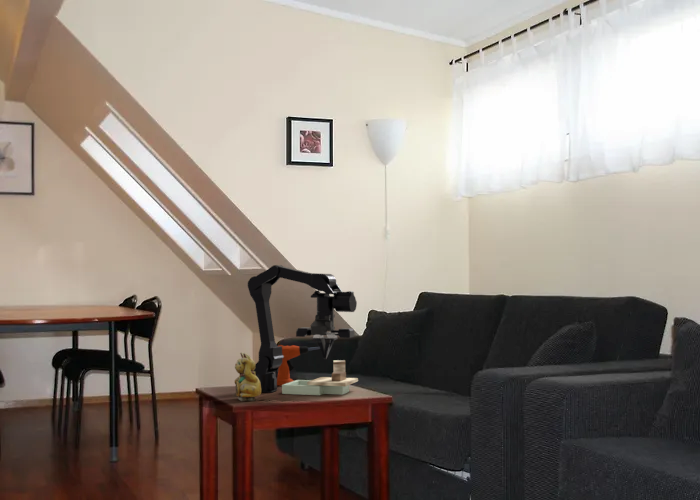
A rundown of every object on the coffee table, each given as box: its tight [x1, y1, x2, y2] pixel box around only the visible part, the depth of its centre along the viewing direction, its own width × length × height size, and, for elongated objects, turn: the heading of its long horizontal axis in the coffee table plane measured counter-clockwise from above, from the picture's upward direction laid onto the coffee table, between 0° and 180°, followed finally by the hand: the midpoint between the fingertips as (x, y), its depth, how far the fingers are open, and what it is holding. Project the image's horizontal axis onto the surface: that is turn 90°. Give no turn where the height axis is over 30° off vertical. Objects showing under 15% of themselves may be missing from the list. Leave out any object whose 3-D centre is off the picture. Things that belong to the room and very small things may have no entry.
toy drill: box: [276, 344, 320, 387], centre depth 310 cm, size 5×19×15 cm, turn 92°
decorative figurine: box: [234, 352, 262, 402], centre depth 273 cm, size 10×8×15 cm
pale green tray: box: [281, 379, 350, 396], centre depth 283 cm, size 20×14×4 cm
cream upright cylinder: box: [332, 359, 346, 373], centre depth 296 cm, size 4×4×10 cm
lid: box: [307, 371, 359, 386], centre depth 282 cm, size 13×14×4 cm
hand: (325, 358), depth 283 cm, fingers closed
